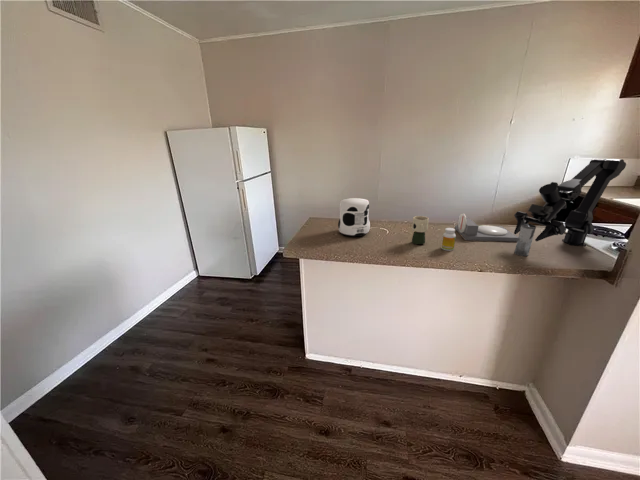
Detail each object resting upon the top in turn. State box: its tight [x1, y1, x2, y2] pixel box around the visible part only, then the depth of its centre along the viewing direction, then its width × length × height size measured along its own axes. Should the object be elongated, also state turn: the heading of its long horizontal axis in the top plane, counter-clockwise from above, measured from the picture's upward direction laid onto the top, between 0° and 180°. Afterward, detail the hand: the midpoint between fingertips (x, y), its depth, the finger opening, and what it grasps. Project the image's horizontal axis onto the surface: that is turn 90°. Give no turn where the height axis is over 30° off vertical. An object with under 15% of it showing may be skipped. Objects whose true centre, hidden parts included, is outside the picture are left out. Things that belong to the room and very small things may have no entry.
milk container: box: [337, 197, 371, 237], centre depth 146 cm, size 17×17×18 cm
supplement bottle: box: [440, 227, 457, 252], centre depth 124 cm, size 5×5×10 cm
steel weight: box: [514, 223, 537, 257], centre depth 117 cm, size 5×5×13 cm
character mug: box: [411, 215, 430, 245], centre depth 131 cm, size 11×7×13 cm, turn 169°
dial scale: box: [454, 213, 518, 243], centre depth 140 cm, size 24×18×11 cm
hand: (524, 237), depth 116 cm, fingers open, 9 cm apart
